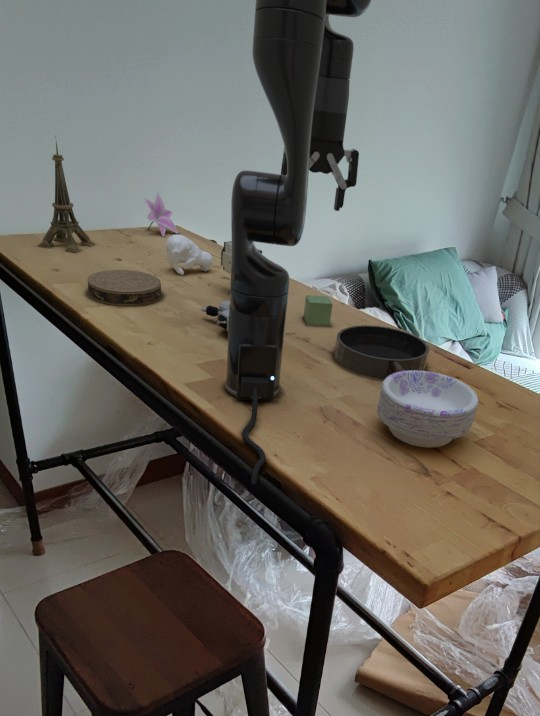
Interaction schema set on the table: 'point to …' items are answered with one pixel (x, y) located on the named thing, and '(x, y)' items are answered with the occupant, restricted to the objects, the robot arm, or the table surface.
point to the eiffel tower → (63, 214)
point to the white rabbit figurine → (186, 254)
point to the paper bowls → (426, 407)
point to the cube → (317, 310)
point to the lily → (160, 215)
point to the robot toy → (219, 313)
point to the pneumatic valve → (228, 256)
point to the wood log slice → (124, 287)
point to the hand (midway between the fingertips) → (315, 208)
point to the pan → (379, 350)
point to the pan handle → (396, 367)
